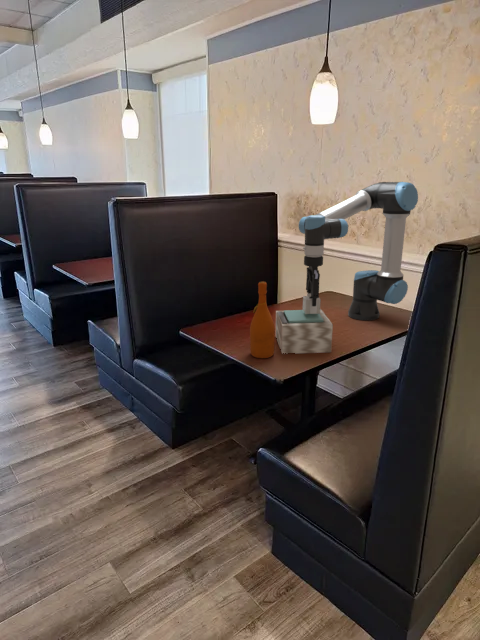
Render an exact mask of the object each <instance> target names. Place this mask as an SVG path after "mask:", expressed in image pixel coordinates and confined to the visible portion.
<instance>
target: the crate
mask: <svg viewBox="0 0 480 640" xmlns="http://www.w3.org/2000/svg"><path fill="white" fill-rule="evenodd" d="M320 316H321V317H322V318H323V320H324V322H311V323H289V322H288V320H287V318H286V316H285V314H284V310H275V339H276V338H277V339H276V341H277V344H278V347H279V350H280V349H281V350H280V352H281V354H282V355H289V354H288V353H295V354H317V353H318V354H319V353H332V345H333V344H332V343H333V323H332V321H331V320H330V318H328V317H327V315H326V313H325V312H324V310H322V308H320ZM283 353H284V354H283ZM285 353H286V354H285Z"/></svg>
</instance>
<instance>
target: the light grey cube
mask: <svg viewBox="0 0 480 640" xmlns="http://www.w3.org/2000/svg"><path fill="white" fill-rule="evenodd" d="M309 297H311V296H307V295H303V297H302V310H303V311H304V313H305V314H310V298H309ZM320 309H321V298H320V297H319V298H317V313H315V314H320Z"/></svg>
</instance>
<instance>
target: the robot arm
mask: <svg viewBox="0 0 480 640" xmlns="http://www.w3.org/2000/svg"><path fill="white" fill-rule="evenodd" d="M418 200H419V193H418V189H417V188H416V186H415V185H414V183H411V182H407V181H380V182H376V183H374V184H371V185H369V186H366V187H364V188H362V189H360V190H358V191H356V193H355V194H354V195H353V196H351V197H349V198H346V199H345V200H343V201H341V202H339V203H337V204H335V205H333V206H331V207H328V208H326V209H325V210H322V211H320V212H319V213H316V214H314V215H308V216H302V217H301V218H300V219H299V221H298V230H299V232H300V233H302V234H304V247H302V250H303V251H304V252H303V253H304V256H303V265H304V266H306V279H305V280H306V284H305V285H306V287H305V290H306V296H311V297H309V298H310V314H315V313H317V298H320V278H321V274H320V270H319V267H322V266H323V264H324V256H323V255H324V252H325V251H324V249H325V240H331V239H339V238H344V237H345V236H346V235H347V234H348V232H349V224H348V222H347V220H346V219H348V218H350V217H352V216H354V215H356V214H358V213H360V212H366V211H369V210H371V209H382V215H383V216H384V217H385V222H384V223H385V224H384V231H383V232H384V234H383V245H382V254H381V255H382V256H381V268H380V271H379V270H367V269H366V270H359V271H357V272H355V273H354V278H353V290H352V301H351V304H350V306H349V309H348V311H347V312H348V313H347V315H348V317H350V318H351V319H355V320H359V321H375V320H377V319H379V318H380V310H379V309H380V308H379V306H378V301H379V302H384V303H386V304H392V305H397V304H399V303H400V302H401V301H403V299H404V298H405V297H406V295H407V293H408V288H409V286H408V282H407V281H406V280H404V274H403V272H402V271H401V269H402V261H403V253H404V252H403V249H404V242H405V234H406V223H407V218H408V217H409V216H410V215H411V213H412V212H411V211H413V210H414V209H415V208H416V205H418V202H419V201H418Z"/></svg>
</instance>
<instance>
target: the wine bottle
mask: <svg viewBox="0 0 480 640" xmlns="http://www.w3.org/2000/svg"><path fill="white" fill-rule="evenodd" d="M257 286H258V287H257V288H258V289H257V290H258V291H257V293H258V303H257V305H256V306H254V308H253V312H252V313H253V317H252V318H251V322H250V326H249V344H250V345H249V346H250V347H249V349H250V350H249V351H250V355H251V356H252V357H254V358H257V359H268V358H271V357H273V356H274V354H275V344H276V343H275V342H276V341H275V340H276V326H275V322H274V320H273V317H272V314H271V312H270V310H269V308H268V304H267V292H268V290H267V287H268V284H267V282H266V281H259V282H258V284H257Z"/></svg>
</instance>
